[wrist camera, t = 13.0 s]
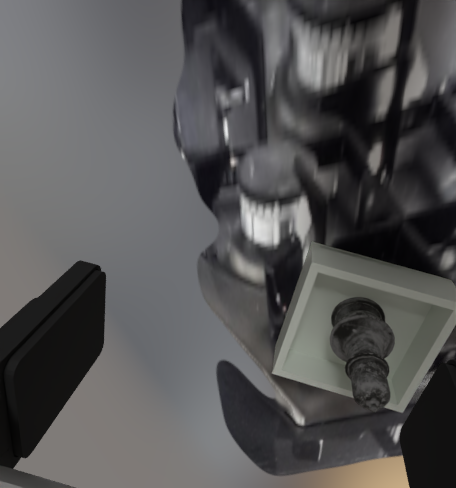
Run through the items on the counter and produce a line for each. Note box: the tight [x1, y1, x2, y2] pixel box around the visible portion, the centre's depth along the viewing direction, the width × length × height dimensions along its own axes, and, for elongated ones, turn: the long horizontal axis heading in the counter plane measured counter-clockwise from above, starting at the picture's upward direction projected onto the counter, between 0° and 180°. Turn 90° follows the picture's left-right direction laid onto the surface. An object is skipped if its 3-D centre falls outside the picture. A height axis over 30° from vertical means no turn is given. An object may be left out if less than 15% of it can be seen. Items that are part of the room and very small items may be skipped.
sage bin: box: [272, 242, 456, 413], centre depth 39 cm, size 14×14×4 cm
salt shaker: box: [330, 297, 395, 413], centre depth 35 cm, size 6×6×12 cm
